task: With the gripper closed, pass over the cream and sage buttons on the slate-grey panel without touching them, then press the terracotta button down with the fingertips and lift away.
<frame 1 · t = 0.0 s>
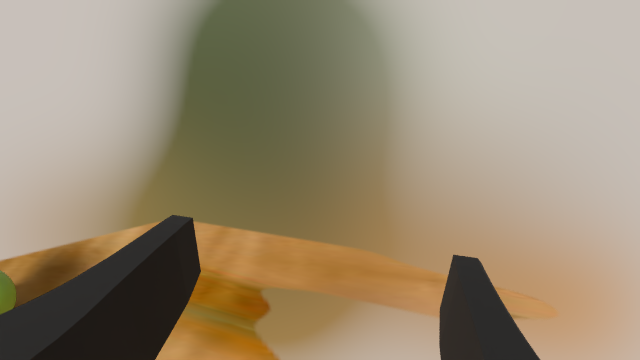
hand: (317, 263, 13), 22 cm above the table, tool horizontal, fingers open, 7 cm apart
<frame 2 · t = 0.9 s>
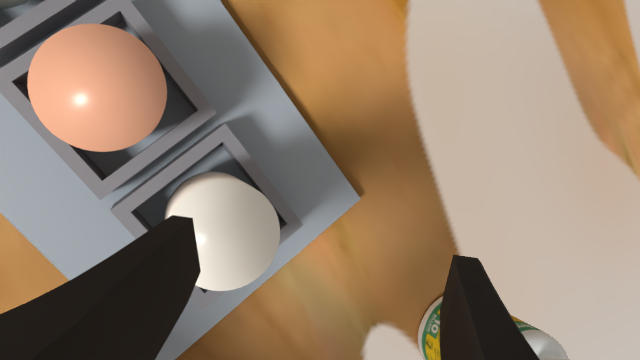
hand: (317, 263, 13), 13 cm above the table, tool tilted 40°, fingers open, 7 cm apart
button cream: (218, 225, 20), point 4 cm above the table, slide at 0.0 cm
supplement bottle: (448, 327, 30), on the table
button terracotta: (106, 93, 18), point 4 cm above the table, slide at 0.0 cm
panel: (115, 100, 22), on the table
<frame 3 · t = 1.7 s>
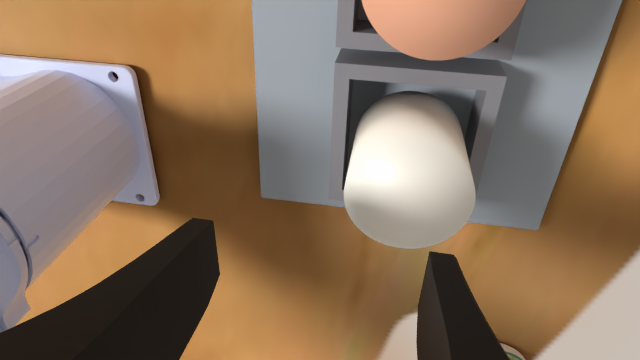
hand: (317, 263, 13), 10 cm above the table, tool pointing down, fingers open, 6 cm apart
button cream: (407, 166, 17), point 4 cm above the table, slide at 0.0 cm
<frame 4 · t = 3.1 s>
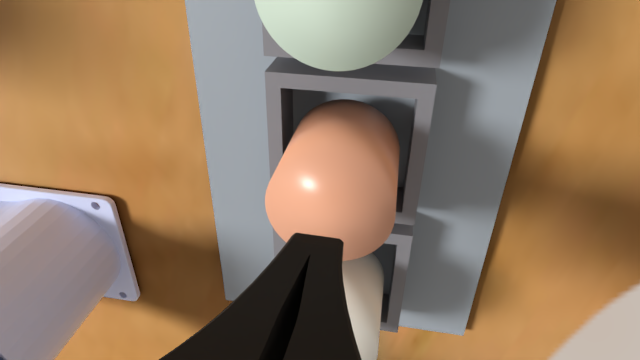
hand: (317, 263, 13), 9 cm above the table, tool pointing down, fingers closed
button cream: (332, 306, 21), point 4 cm above the table, slide at 0.0 cm
button terracotta: (338, 176, 17), point 4 cm above the table, slide at 0.0 cm
panel: (352, 126, 21), on the table
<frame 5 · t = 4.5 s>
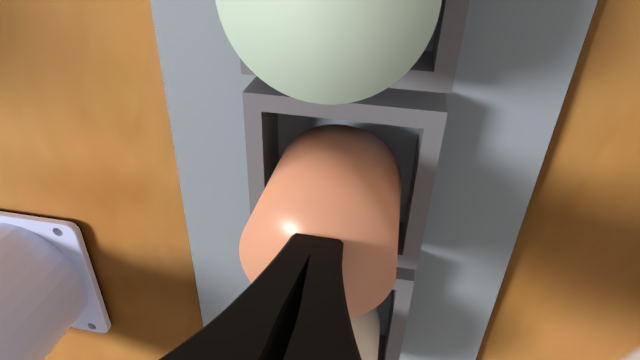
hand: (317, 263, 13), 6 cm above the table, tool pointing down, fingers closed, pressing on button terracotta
button cream: (321, 359, 18), point 4 cm above the table, slide at 0.0 cm
button terracotta: (328, 217, 14), point 4 cm above the table, slide at 0.1 cm, touching gripper
panel: (346, 152, 18), on the table
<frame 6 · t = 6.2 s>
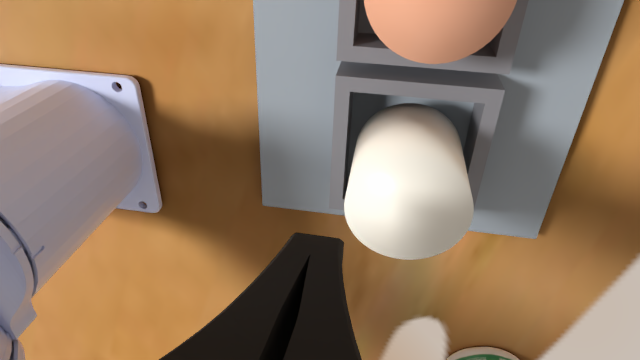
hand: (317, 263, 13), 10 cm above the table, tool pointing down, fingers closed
button cream: (407, 178, 18), point 4 cm above the table, slide at 0.0 cm
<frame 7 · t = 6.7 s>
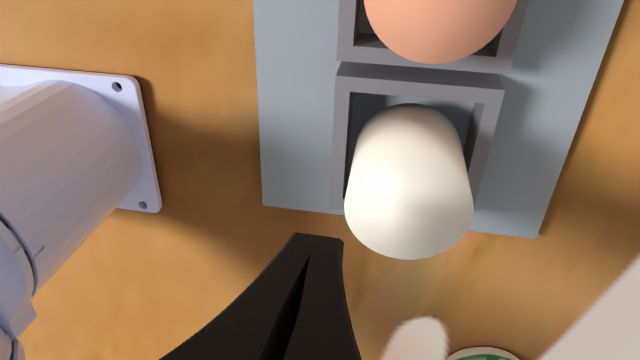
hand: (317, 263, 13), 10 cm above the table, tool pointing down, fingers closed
button cream: (407, 178, 18), point 4 cm above the table, slide at 0.0 cm
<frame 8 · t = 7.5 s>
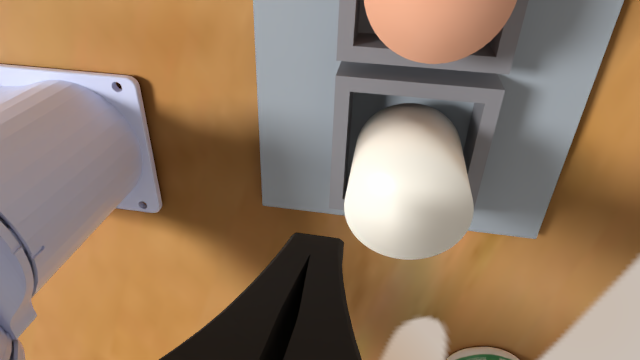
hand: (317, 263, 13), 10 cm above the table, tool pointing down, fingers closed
button cream: (407, 178, 18), point 4 cm above the table, slide at 0.0 cm
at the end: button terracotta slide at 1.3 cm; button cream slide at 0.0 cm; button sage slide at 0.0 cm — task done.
